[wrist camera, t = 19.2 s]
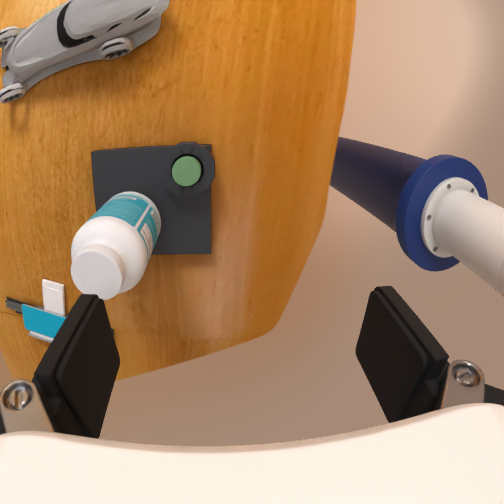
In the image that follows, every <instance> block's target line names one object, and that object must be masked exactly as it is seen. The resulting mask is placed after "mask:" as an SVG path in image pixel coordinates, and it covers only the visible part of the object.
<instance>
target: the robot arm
mask: <svg viewBox="0 0 504 504" xmlns="http://www.w3.org/2000/svg"><path fill="white" fill-rule="evenodd" d="M420 226H421V236H422V240H423V242H424V244H425V246H426V247H427V249H428V250H429V251H430V252H432V253H433V254H434V255H436V256H438V257H442V258H445V257H451V256H454V257H455V258H456V259H458V260H459V261H460V262H462V263H463V264H464V265H465V266H467V267H468V268H469V269H471V270H472V271H474V272H475V273H476V274H477V275H478V276H479V277H481V278H482V279H483V280H484V281H486V282H487V283H488V284H489V285H491V286H492V287H493V288H494V289H495V290H497V291H498V292H499V293H500V294H501V295H502V296H504V208H502V207H500V206H498V205H496V204H494V203H491V202H490V201H487V200H485V199H483V198H481V197H479V194H478V192H477V190H476V188H475V187H474V185H473V184H472V183H471V182H469V181H468V180H465V179H463V178H459V177H452V178H449V179H446V180H444V181H443V182H441V183H440V184H439V185H438V186H437V187H436V188H435V189H434V190H433V191H432V193H431V194H430V195H429V197H428V199H427V201H426V203H425V206H424V209H423V212H422V216H421V225H420ZM356 356H357V358H358V360H359V362H360V364H361V366H362V368H363V370H364V372H365V375H366V377H367V379H368V381H369V383H370V385H371V387H372V389H373V391H374V393H375V395H376V397H377V399H378V401H379V403H380V405H381V407H382V410H383V412H384V414H385V416H386V418H387V420H388V422H389V423H388V424H384V425H380V426H376V427H371V428H367V429H363V430H358V431H353V432H348V433H343V434H337V435H331V436H326V437H319V438H312V439H305V440H298V441H289V442H280V443H269V444H256V445H239V446H169V445H152V444H140V443H130V442H120V441H111V440H103V439H98V438H99V436H100V432H101V428H102V425H103V421H104V417H105V413H106V410H107V406H108V403H109V399H110V396H111V392H112V389H113V385H114V382H115V379H116V375H117V372H118V369H119V366H120V357H119V353H118V350H117V347H116V344H115V340H114V337H113V334H112V330H111V327H110V323H109V319H108V316H107V312H106V308H105V304H104V301H103V299H100V298H99V297H98V295H97V294H81V295H80V297H79V298H78V300H77V301H76V303H75V304H74V306H73V307H72V309H71V311H70V312H69V314H68V315H67V317H66V319H65V320H64V322H63V324H62V325H61V327H60V329H59V330H58V332H57V334H56V335H55V337H54V339H53V340H52V342H51V344H50V346H49V347H48V349H47V351H46V353H45V354H44V356H43V358H42V360H41V362H40V364H39V365H38V367H37V369H36V371H35V373H34V377H33V379H32V381H30V380H27V379H16V380H13V381H11V382H10V383H8V384H7V385H6V386H5V387H4V388H3V389H2V391H1V392H0V504H504V390H501V389H498V388H495V387H493V386H489V385H487V384H485V378H484V374H483V372H482V370H481V369H480V368H479V367H478V366H477V365H475V364H474V363H472V362H470V361H466V360H456V361H453V362H452V363H451V364H449V362H448V361H447V359H448V358H449V355H448V354H447V353H446V352H445V350H444V349H443V348H442V346H441V345H440V344H439V343H438V341H437V340H436V339H435V337H433V335H432V334H431V332H430V331H429V330H428V329H427V328H426V326H425V325H424V324H423V323H422V322H421V320H420V319H419V318H418V316H417V315H416V314H415V313H414V312H413V311H412V309H411V308H410V307H409V306H408V305H407V303H406V302H405V301H404V300H403V299H402V297H401V296H400V295H399V294H398V293H397V292H396V290H395V289H394V288H393V287H392V286H382V287H376V288H375V289H374V291H372V292H371V293H370V296H369V300H368V304H367V308H366V312H365V316H364V320H363V324H362V328H361V331H360V335H359V339H358V342H357V346H356Z"/></svg>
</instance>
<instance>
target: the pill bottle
mask: <svg viewBox="0 0 504 504" xmlns="http://www.w3.org/2000/svg"><path fill="white" fill-rule="evenodd" d="M160 229H161V218H160V214H159V211H158V209H157V207H156V206H155V204H154V203H153V202H152V201H151V200H150V199H149V198H148V197H146V196H144V195H143V194H140V193H137V192H122V193H119V194H117V195H115V196H113V197H112V198H111V199H110V200H108V201H107V202H106V203H105V204H104V205H103V206H102V207H101V208H100V209H99V210H98V211H97V212H96V213H95V214H94V215H93V216H92V217H91V218H90V219H89V220H88V221H87V222H86V223H85V224H84V225H83V226H82V227H81V228H80V229H79V230H78V232H77V233H76V235H75V237H74V239H73V242H72V247H71V257H72V265H71V275H72V279H73V281H74V283H75V285H76V287H77V288H78V289H79V290H80V291H81V292H82V293H83V294H97V295H98V297H99V298H100V299H103V300H107V299H110V298H112V297H114V296H116V294H118V293H123V292H125V291H128V290H130V289H131V288H133V287H134V286H135V285H136V284H137V283H138V282H139V281H140V280H141V278H142V276H143V274H144V272H145V269H146V267H147V264H148V261H149V259H150V256H151V254H152V251H153V248H154V246H155V243H156V241H157V238H158V236H159V233H160Z"/></svg>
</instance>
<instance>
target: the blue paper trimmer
mask: <svg viewBox="0 0 504 504" xmlns="http://www.w3.org/2000/svg"><path fill="white" fill-rule="evenodd" d="M42 289H43V301H44V308H43V307H40V306H37V305H35V306H32V305H29V304H26V303H23V302H20V301H17V300H13V299H10V298H8V297H7V300H6V303H7V304H6V306H7V307H8V308H10V309H13V310H16V313H19V314H22V315H23V319H24V325H25V328H26V329H27V330H30V332H29V334H28V335H29V336H32V337H35V338H38V339H41V340H44V341H47V342H50V343H51V342H52V340H53V339H54V337H55V335H56V334H57V332H58V330H59V329H60V327H61V325H62V324H63V322H64V320H65V319H66V317H67V315H66V314H65V297H64V284H60V283H57V282H53V281H50V280H46V279H43V280H42ZM111 330H112V334H113V333H114V329H111Z"/></svg>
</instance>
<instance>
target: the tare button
mask: <svg viewBox="0 0 504 504" xmlns="http://www.w3.org/2000/svg"><path fill="white" fill-rule="evenodd" d="M200 174H201V165H200V163H199V161H198V160H197V159H195V158H194V157H191V156H184V157H181V158H180V159H178V160H177V161H176V163H175V164H174V165H173V168H172V177H173V179H174V180H175V182H176V183H178V184H179V185H181V186H191V185H193V184H195V183H196V182H197V181H198V179H199V178H200Z"/></svg>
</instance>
